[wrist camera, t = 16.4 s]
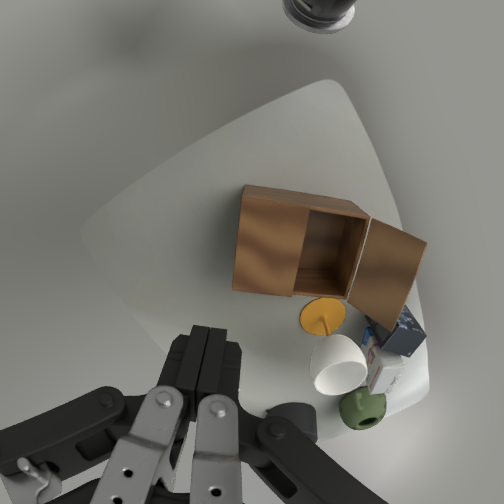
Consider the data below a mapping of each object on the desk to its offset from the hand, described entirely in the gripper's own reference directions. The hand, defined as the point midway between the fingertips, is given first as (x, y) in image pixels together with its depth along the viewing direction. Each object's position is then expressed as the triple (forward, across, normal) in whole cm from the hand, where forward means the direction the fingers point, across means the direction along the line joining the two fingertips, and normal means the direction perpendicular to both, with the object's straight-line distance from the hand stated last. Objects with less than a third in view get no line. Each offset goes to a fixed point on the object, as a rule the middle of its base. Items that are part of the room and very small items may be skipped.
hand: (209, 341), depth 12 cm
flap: (+20, -19, +5) cm, 29 cm away
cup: (+33, -17, +21) cm, 43 cm away
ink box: (+33, -30, +27) cm, 53 cm away
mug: (+33, -35, +47) cm, 67 cm away
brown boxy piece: (+33, -8, +6) cm, 34 cm away
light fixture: (+33, -18, +56) cm, 68 cm away
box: (+33, -30, +19) cm, 49 cm away
